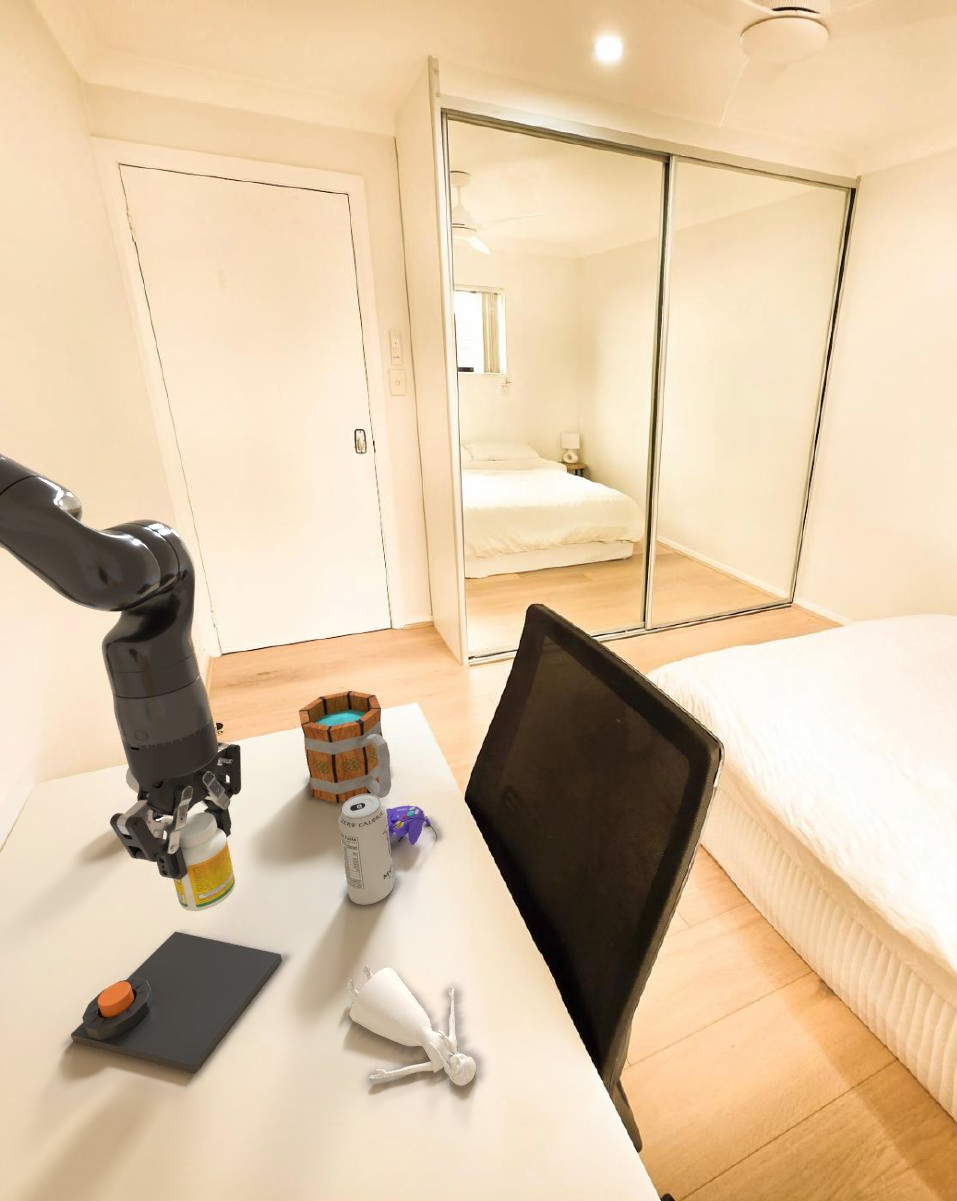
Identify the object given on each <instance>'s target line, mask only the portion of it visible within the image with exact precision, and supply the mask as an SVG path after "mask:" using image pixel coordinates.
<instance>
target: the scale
mask: <svg viewBox="0 0 957 1201" xmlns="http://www.w3.org/2000/svg"><path fill="white" fill-rule="evenodd" d="M282 958H283V957H282V954H281V953H277V952H272V951H267V950H263V949H259V948H254V947H250V946H245V945H239V944H235V943H230V942H226V941H221V940H217V939H212V938H207V937H203V936H198V935H193V934H189V933H184V932H180V931H174V932H173V933H172V934H171V935H170V936H169V937H168V938H167V939H166V940H165V941H164V942H163V943H162V944H160V946H159V947H157V949H156V950H155V951H153V952H152V953H151V955H150V956H149V957H147V958H146V959H145V960H144V962H143V963H141V965H139V967H137V969H135V971H133V972H132V973H131V975H129V976H128V977H127V978H126V979H123V980H119V981H117V982H116V983H118V982H128V983H129V984H130V986H131V989H132V992H133V995H134V1000H133V1003H132V1004H131V1006H130V1007H129V1008H128V1009H127V1010H126V1011H124V1012H122V1013H121V1014H119V1015H117V1016H115V1017H110V1018H107V1017H104V1016H103V1015H102V1014H101V1011H100V1008H99V1005H98V998H99V996H100V995H101V993H102V992H103V991H104V990H105V989H107V988H108V987H106V988H105V989H103V990H102V991H100V992H99V994H97V995H96V996H95V997H94V998H93V999H92V1000H90V1002H89V1003H88V1005H87V1007H86V1008H85V1010H84V1013H83V1015H82V1016H81V1017H82V1018H81V1019H82V1021H83V1022H81V1024H80V1025H79V1026H77V1028H76V1029H74V1030H73V1031H72V1032H71V1033H70V1037H71V1040H72V1042H73V1043H75V1044H80V1045H84V1046H87V1047H90V1048H91V1047H92V1048H95V1049H99V1050H103V1051H106V1052H111V1053H114V1054H118V1055H122V1056H126V1057H129V1058H134V1059H137V1060H142V1061H145V1062H149V1063H153V1064H157V1065H159V1066H160V1065H161V1066H164V1067H168V1068H172V1069H176V1070H179V1071H180V1070H181V1071H183V1072H188V1073H190V1074H196V1073H198V1070H199V1069H200V1068H201V1067H202V1066H203V1064H204V1063H205V1061H206V1060H207V1059H208V1058H209V1056H210V1055H211V1054H212V1052H214V1050H215V1048H216V1047H217V1046H218V1045H219V1044H220V1042H221V1041H222V1040H223V1038H224V1037H225V1036H226V1035H227V1033H228V1032H229V1031H230V1029H231V1028H232V1027H233V1026H234V1024H235V1023H236V1021H237V1020H238V1019H239V1018H240V1016H241V1015H242V1014H243V1012H244V1011H245V1010H246V1009H247V1007H248V1006H249V1005H250V1003H251V1002H252V1001H253V999H254V998H255V997H256V996H257V994H258V993H259V992H260V991H261V989H262V988H263V986H264V985H265V984H266V983H267V982H268V980H269V979H270V977H271V976H272V975H273V973H274V972H275V971H276V970H277V968H278V967H279V966H280V964H281V963H282V962H283V959H282Z"/></svg>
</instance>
